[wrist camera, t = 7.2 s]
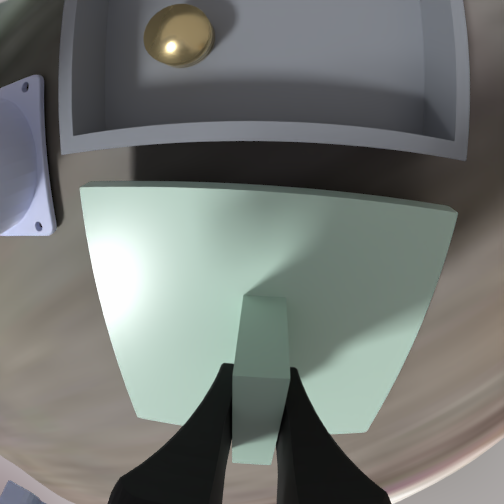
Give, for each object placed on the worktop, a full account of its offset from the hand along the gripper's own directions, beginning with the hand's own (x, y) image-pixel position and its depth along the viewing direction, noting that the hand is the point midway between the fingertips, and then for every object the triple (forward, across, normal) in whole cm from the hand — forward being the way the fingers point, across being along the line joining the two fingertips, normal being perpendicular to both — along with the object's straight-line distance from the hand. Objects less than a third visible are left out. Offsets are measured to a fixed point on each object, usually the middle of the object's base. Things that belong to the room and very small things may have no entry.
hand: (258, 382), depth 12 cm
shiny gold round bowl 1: (+3, +4, -13) cm, 14 cm away
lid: (+2, 0, 0) cm, 2 cm away
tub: (+4, +1, -16) cm, 16 cm away
